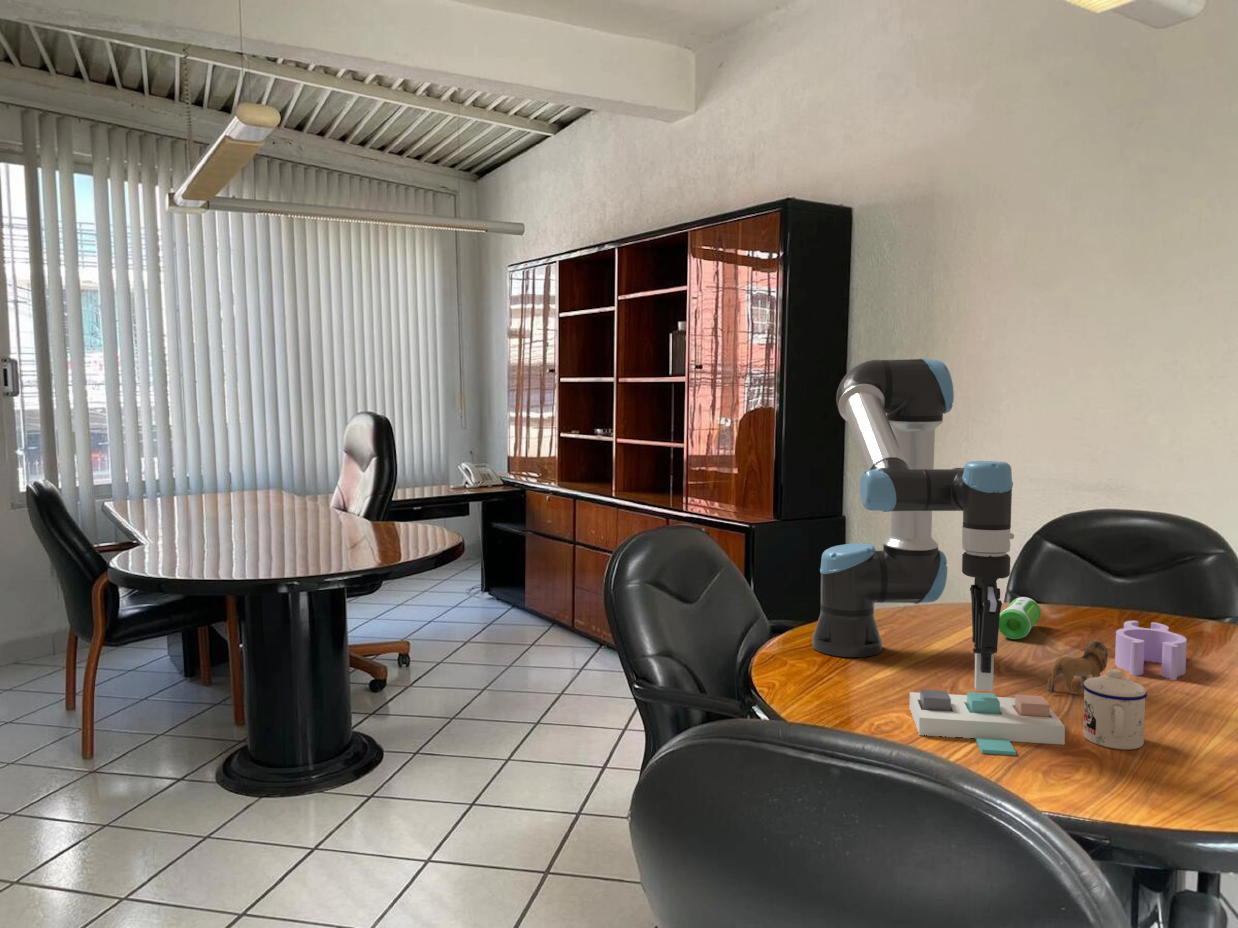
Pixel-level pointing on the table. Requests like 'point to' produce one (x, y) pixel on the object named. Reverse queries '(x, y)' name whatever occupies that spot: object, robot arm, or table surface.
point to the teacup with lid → (1114, 711)
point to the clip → (1150, 649)
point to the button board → (986, 722)
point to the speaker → (1019, 618)
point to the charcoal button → (935, 700)
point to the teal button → (983, 703)
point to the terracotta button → (1032, 706)
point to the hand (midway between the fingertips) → (983, 688)
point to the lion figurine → (1080, 665)
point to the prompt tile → (995, 746)
